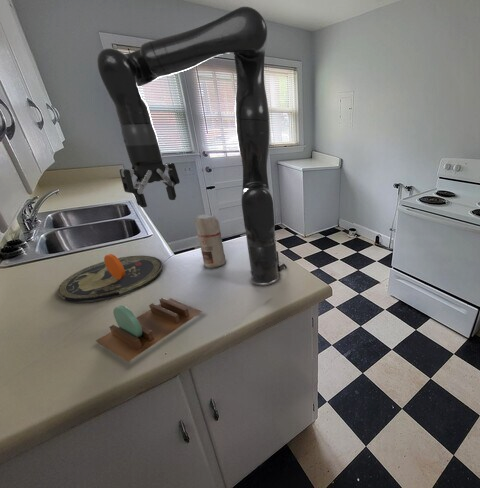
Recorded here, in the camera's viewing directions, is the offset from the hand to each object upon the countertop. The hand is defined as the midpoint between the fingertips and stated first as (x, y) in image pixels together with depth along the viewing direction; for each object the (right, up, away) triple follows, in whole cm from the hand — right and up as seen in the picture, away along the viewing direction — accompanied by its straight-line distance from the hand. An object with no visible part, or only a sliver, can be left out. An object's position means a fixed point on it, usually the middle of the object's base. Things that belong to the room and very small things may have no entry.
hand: (158, 203), depth 77 cm
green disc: (0, -35, -10) cm, 36 cm away
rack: (+2, -35, -6) cm, 35 cm away
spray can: (+5, -20, +29) cm, 35 cm away
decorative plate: (-27, -24, +19) cm, 41 cm away
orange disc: (-22, -24, +15) cm, 35 cm away
